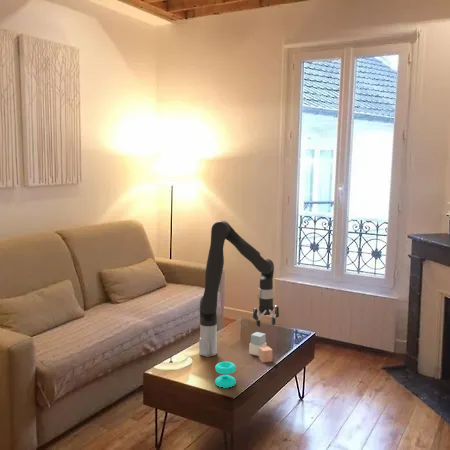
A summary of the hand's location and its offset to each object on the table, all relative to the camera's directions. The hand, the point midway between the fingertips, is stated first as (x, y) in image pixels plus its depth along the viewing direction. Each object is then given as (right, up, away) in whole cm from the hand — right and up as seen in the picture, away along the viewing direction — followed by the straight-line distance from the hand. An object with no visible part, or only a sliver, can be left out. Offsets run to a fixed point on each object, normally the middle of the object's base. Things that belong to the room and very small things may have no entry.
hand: (265, 325), depth 265 cm
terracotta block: (0, -19, +1) cm, 19 cm away
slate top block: (-4, -12, +10) cm, 15 cm away
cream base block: (-4, -18, +10) cm, 21 cm away
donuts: (-22, -23, -29) cm, 43 cm away
